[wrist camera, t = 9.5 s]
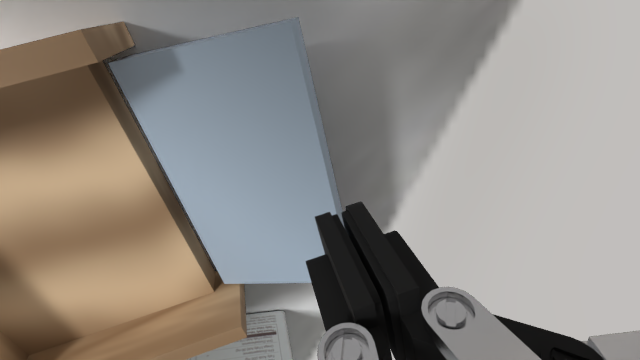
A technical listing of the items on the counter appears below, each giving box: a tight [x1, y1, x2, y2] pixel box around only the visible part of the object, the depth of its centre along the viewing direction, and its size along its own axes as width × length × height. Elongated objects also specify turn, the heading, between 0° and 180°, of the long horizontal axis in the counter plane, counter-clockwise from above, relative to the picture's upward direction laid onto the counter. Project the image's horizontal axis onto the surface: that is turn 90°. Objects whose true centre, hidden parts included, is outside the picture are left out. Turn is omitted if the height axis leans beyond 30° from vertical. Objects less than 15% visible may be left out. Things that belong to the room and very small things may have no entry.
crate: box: [0, 22, 247, 360], centre depth 16 cm, size 16×14×5 cm
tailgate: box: [108, 17, 344, 284], centre depth 17 cm, size 13×2×8 cm
